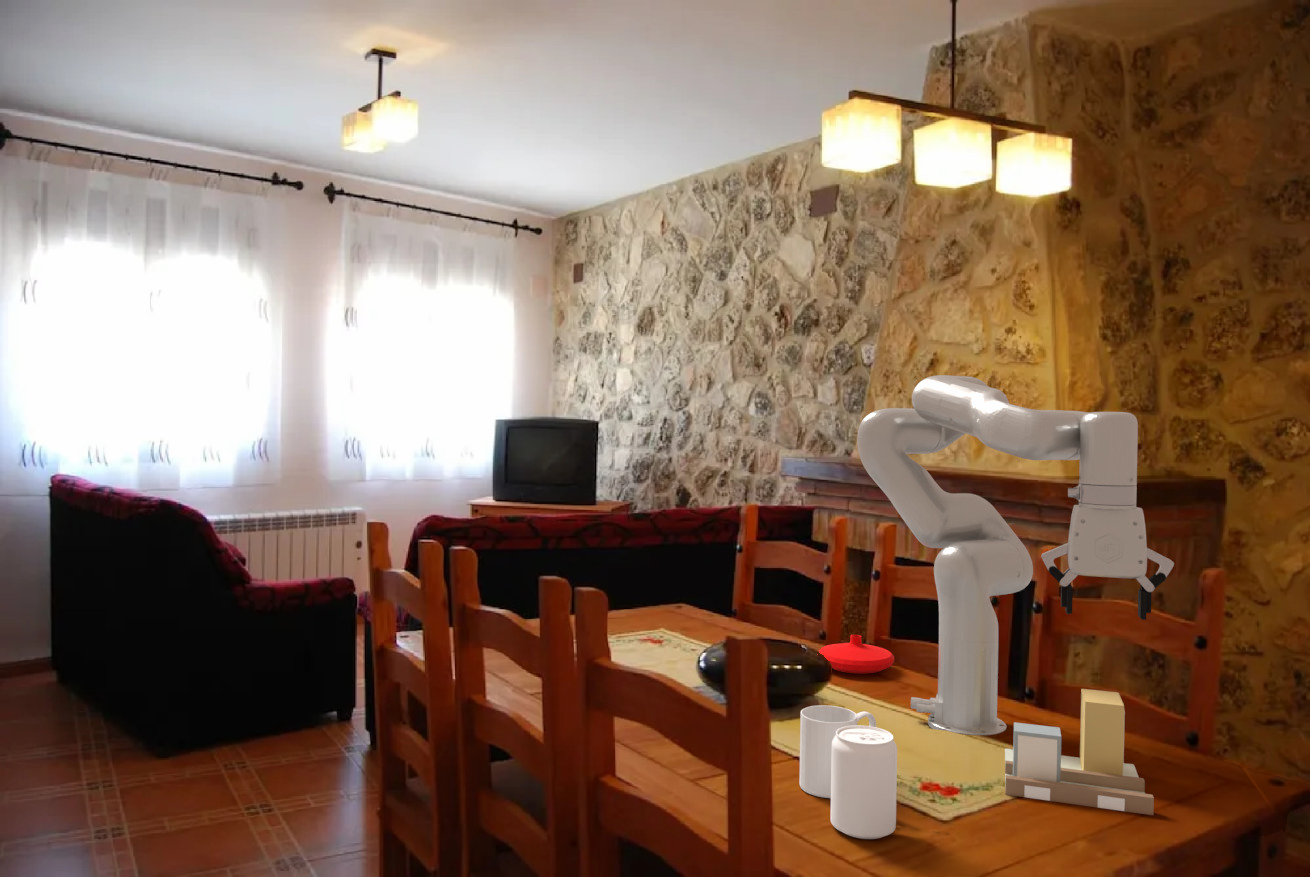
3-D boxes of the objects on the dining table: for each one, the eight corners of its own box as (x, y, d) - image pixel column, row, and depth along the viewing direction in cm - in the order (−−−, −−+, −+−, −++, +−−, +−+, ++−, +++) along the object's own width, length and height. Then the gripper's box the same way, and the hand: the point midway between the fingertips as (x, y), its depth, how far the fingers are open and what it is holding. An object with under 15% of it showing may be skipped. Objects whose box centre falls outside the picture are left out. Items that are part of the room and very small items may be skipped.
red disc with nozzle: (902, 680, 188) (903, 645, 188) (823, 679, 188) (824, 644, 188) (884, 660, 203) (885, 628, 203) (811, 659, 204) (812, 627, 203)
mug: (822, 803, 127) (823, 726, 127) (788, 782, 134) (789, 709, 134) (891, 788, 132) (893, 714, 132) (855, 769, 139) (856, 698, 139)
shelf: (1005, 801, 128) (1005, 778, 128) (1004, 754, 146) (1005, 734, 146) (1153, 823, 122) (1154, 798, 122) (1133, 771, 140) (1134, 749, 140)
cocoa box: (1013, 788, 130) (1014, 731, 130) (1012, 778, 134) (1013, 722, 134) (1060, 795, 128) (1061, 737, 128) (1058, 784, 132) (1059, 727, 132)
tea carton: (1124, 783, 133) (1125, 706, 132) (1083, 778, 134) (1085, 701, 134) (1118, 766, 139) (1120, 692, 139) (1079, 761, 141) (1081, 688, 141)
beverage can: (823, 815, 123) (824, 724, 123) (883, 814, 124) (885, 723, 123) (840, 843, 115) (842, 746, 115) (905, 842, 116) (906, 745, 115)
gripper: (1043, 496, 135) (1041, 615, 136) (1179, 501, 129) (1176, 625, 130) (1041, 493, 142) (1039, 605, 143) (1170, 497, 136) (1167, 615, 137)
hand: (1104, 615), depth 136 cm, fingers open, 9 cm apart
